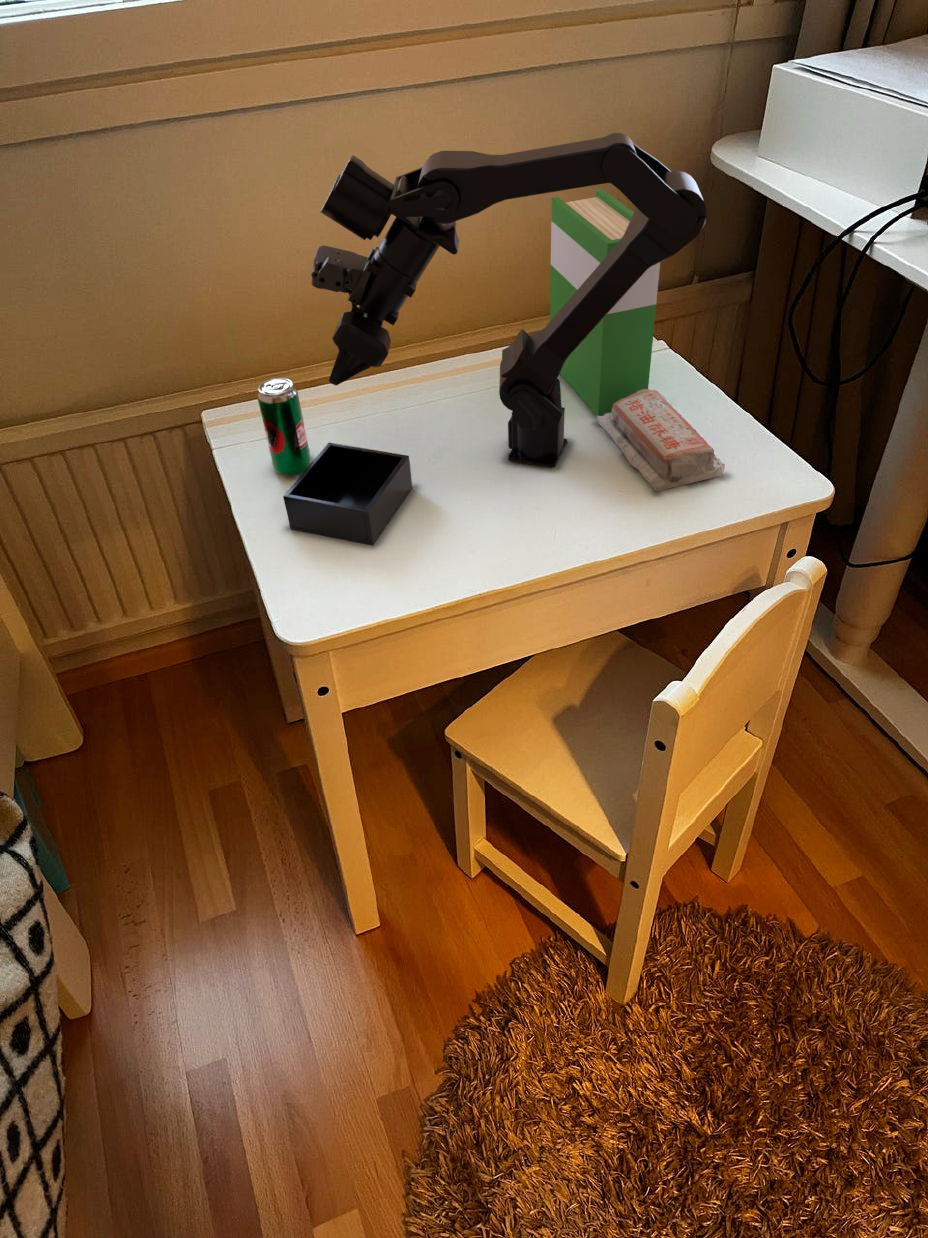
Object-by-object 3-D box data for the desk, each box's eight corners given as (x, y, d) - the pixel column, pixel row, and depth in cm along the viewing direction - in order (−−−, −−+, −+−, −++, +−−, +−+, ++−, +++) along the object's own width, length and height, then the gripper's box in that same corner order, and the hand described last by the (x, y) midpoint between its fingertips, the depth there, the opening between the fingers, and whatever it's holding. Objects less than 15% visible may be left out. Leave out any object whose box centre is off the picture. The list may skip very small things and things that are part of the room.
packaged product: (732, 444, 112) (657, 461, 110) (726, 477, 115) (654, 494, 113) (665, 377, 124) (597, 391, 123) (661, 408, 128) (595, 423, 126)
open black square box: (412, 488, 117) (409, 455, 113) (373, 546, 109) (368, 512, 105) (334, 474, 120) (328, 442, 117) (290, 529, 112) (282, 496, 108)
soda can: (309, 477, 120) (292, 395, 112) (271, 478, 120) (251, 397, 112) (314, 455, 124) (299, 375, 115) (277, 457, 124) (259, 376, 116)
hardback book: (549, 361, 139) (551, 197, 123) (594, 352, 141) (602, 188, 124) (598, 417, 127) (607, 243, 110) (646, 406, 128) (663, 233, 112)
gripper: (349, 192, 109) (293, 297, 118) (324, 254, 95) (263, 368, 104) (429, 244, 112) (368, 342, 122) (416, 311, 99) (349, 416, 108)
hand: (337, 364), depth 114 cm, fingers open, 9 cm apart
